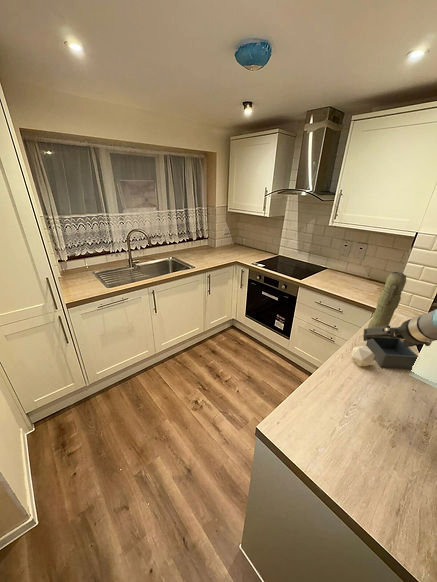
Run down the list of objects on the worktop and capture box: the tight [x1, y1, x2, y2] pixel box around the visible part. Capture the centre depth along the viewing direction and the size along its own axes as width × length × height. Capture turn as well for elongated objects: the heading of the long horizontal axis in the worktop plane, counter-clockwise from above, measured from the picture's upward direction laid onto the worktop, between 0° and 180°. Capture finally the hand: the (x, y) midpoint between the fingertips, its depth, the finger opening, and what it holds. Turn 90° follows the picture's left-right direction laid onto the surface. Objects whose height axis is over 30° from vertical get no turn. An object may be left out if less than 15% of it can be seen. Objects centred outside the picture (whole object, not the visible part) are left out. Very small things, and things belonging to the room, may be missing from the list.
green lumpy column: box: [367, 271, 407, 328], centre depth 121 cm, size 9×12×35 cm
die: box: [350, 345, 375, 367], centre depth 105 cm, size 8×9×10 cm
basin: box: [365, 337, 419, 370], centre depth 109 cm, size 14×14×7 cm
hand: (384, 340), depth 89 cm, fingers open, 13 cm apart
